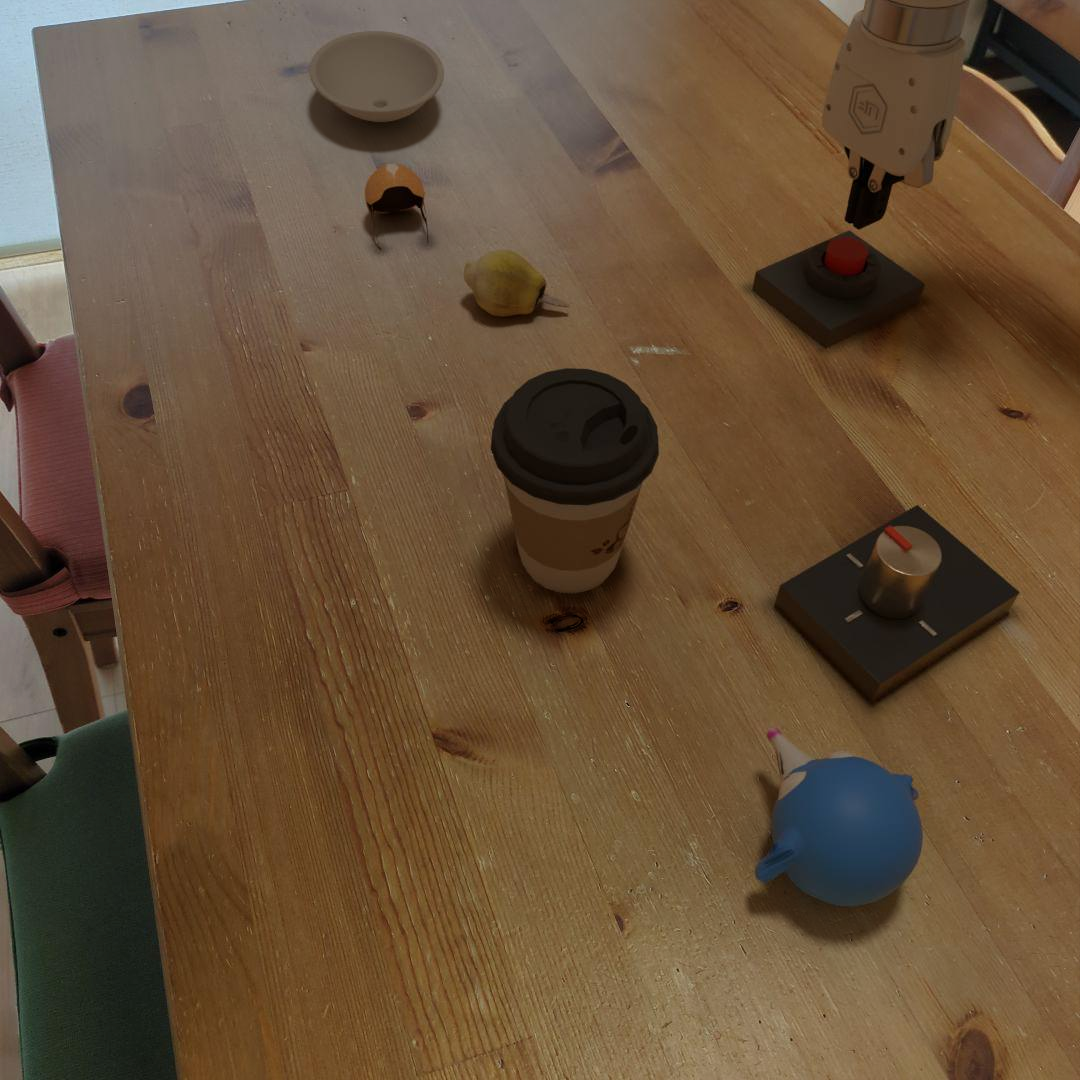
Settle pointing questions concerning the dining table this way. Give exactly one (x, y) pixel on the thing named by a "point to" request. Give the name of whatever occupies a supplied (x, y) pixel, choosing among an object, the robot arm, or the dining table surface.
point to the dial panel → (883, 643)
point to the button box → (836, 292)
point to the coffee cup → (573, 472)
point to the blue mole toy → (841, 826)
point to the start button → (845, 256)
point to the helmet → (394, 191)
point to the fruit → (507, 284)
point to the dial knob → (899, 571)
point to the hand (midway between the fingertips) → (863, 220)
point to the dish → (376, 74)
